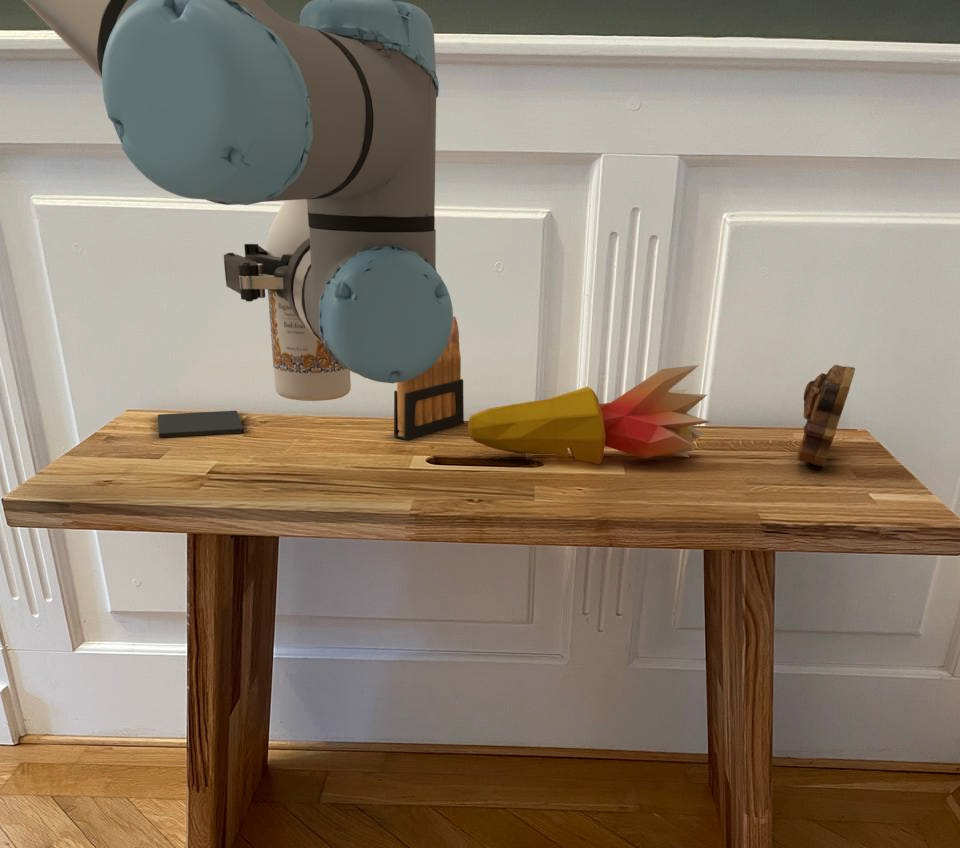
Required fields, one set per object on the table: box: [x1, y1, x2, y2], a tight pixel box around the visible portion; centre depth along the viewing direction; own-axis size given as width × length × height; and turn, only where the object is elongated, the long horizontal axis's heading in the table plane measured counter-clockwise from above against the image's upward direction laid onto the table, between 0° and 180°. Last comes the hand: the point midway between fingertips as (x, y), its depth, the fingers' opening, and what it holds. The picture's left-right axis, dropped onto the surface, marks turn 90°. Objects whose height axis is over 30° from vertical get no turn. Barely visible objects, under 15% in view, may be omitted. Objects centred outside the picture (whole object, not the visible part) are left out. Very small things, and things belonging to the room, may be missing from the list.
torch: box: [467, 364, 710, 465], centre depth 93 cm, size 8×8×25 cm
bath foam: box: [265, 199, 352, 402], centre depth 80 cm, size 7×7×20 cm
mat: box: [157, 410, 245, 439], centre depth 104 cm, size 9×9×1 cm
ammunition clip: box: [393, 315, 465, 441], centre depth 101 cm, size 11×2×12 cm, turn 144°
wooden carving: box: [797, 364, 856, 468], centre depth 93 cm, size 16×5×10 cm, turn 162°
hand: (298, 261), depth 84 cm, fingers closed on bath foam, 7 cm apart
